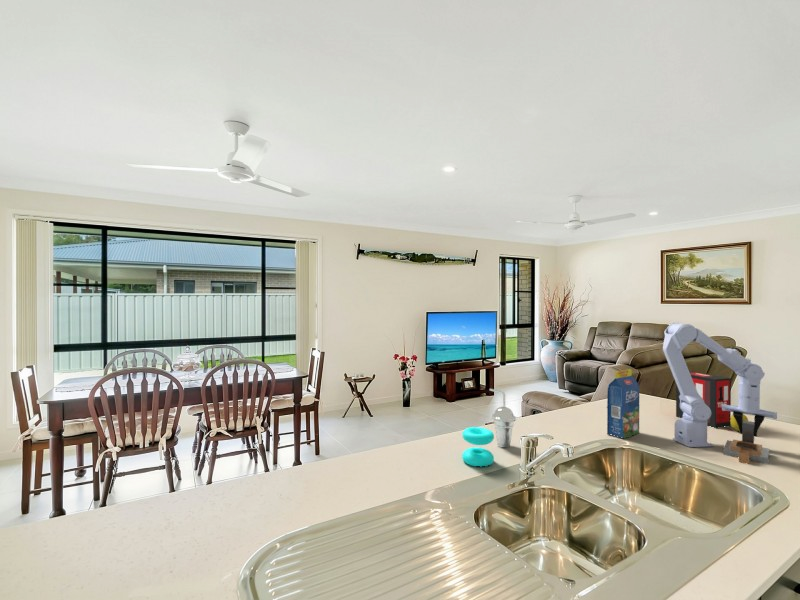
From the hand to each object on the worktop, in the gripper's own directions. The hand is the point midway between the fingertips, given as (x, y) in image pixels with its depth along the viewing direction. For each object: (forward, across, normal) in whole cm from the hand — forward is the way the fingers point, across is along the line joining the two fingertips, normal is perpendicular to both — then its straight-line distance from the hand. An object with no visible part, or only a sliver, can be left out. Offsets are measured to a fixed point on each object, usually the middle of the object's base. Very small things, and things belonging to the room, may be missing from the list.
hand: (748, 434), depth 139 cm
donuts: (+5, +60, +80) cm, 100 cm away
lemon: (+5, +4, -19) cm, 20 cm away
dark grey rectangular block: (+3, 0, 0) cm, 3 cm away
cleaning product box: (+5, +16, -26) cm, 31 cm away
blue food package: (+5, +35, +17) cm, 40 cm away
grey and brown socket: (+5, 0, +11) cm, 12 cm away
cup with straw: (+5, +62, +61) cm, 87 cm away
